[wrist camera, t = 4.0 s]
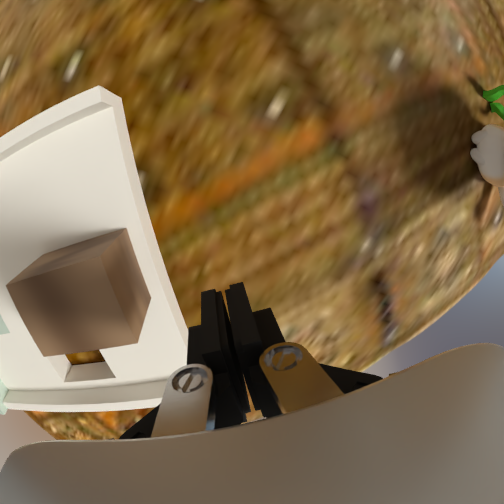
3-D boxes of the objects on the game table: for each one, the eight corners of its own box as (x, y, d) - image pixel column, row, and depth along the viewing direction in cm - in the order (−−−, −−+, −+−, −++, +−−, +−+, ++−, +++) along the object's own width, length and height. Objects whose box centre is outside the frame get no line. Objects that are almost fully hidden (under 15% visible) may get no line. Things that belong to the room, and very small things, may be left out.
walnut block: (126, 227, 16) (99, 256, 12) (151, 298, 18) (137, 343, 14) (43, 254, 16) (5, 285, 11) (69, 315, 18) (43, 356, 13)
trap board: (121, 98, 16) (92, 81, 11) (201, 362, 24) (202, 409, 19) (-64, 206, 14) (-97, 221, 9) (16, 382, 22) (-1, 414, 17)
